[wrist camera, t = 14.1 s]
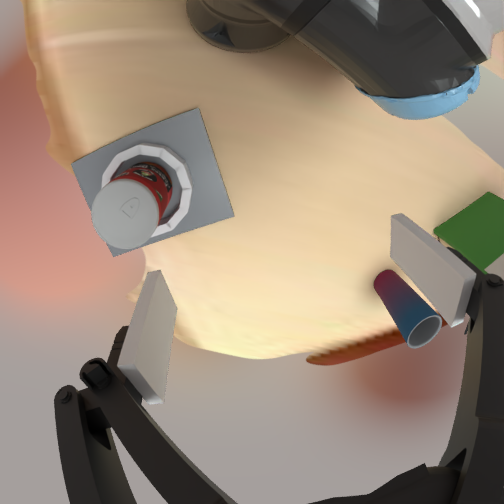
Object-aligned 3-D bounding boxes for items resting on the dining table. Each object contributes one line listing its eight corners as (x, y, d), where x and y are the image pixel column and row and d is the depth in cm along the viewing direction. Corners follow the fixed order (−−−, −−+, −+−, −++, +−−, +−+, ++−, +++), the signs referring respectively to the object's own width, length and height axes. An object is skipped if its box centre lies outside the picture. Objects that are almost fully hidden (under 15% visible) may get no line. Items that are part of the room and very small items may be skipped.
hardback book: (438, 258, 50) (512, 332, 29) (433, 229, 47) (519, 302, 26) (490, 220, 48) (565, 274, 27) (488, 191, 44) (571, 242, 23)
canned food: (183, 174, 38) (170, 198, 28) (159, 223, 40) (142, 261, 31) (133, 151, 35) (104, 167, 25) (113, 201, 38) (83, 233, 28)
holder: (73, 162, 35) (63, 167, 32) (198, 107, 35) (196, 107, 31) (115, 254, 43) (108, 265, 40) (234, 214, 42) (235, 223, 39)
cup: (365, 296, 52) (400, 351, 39) (375, 265, 49) (417, 317, 36) (393, 294, 53) (431, 345, 40) (404, 265, 50) (448, 313, 37)
